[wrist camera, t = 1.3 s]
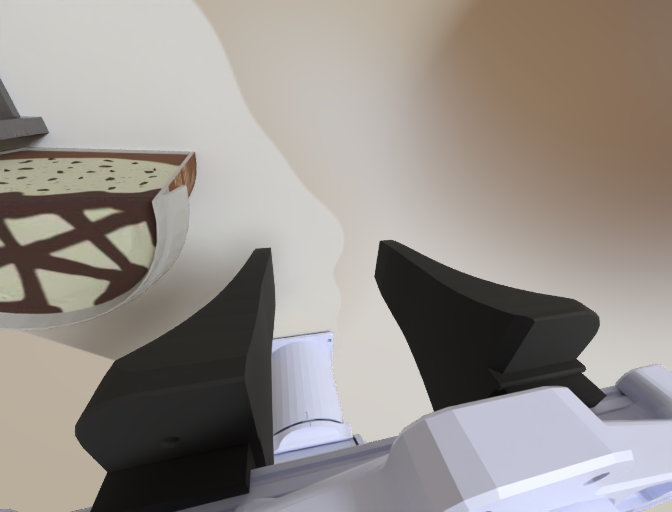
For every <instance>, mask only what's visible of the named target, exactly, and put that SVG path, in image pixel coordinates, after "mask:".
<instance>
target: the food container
mask: <svg viewBox="0 0 672 512" xmlns="http://www.w3.org/2000/svg"><path fill="white" fill-rule="evenodd" d="M195 179H196V157H195V152H182V151H147V150H111V149H75V148H39V147H22V148H16V149H10V150H4V151H0V330H39V329H50V328H56V327H63V326H69V325H73V324H77V323H81V322H85V321H88V320H91V319H94V318H96V317H99V316H101V315H104V314H106V313H108V312H110V311H112V310H114V309H117V308H119V307H121V306H123V305H125V304H126V303H128V302H130V301H131V300H133V299H135V298H136V297H138V296H139V295H140V294H142V293H143V292H144V291H145V290H146V289H147V288H149V287H150V286H151V285H152V284H153V283H155V282H156V281H157V280H158V279H159V278H160V277H161V276H163V275H164V274H165V273H166V272H167V271H168V270H169V268H170V267H171V266H172V264H173V263H174V262H175V260H176V259H177V258H178V256H179V254H180V251H181V249H182V247H183V245H184V243H185V239H186V235H187V230H188V226H189V199H188V198H189V196H190V194H191V192H192V189H193V187H194V184H195Z"/></svg>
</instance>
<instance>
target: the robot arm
mask: <svg viewBox="0 0 672 512" xmlns="http://www.w3.org/2000/svg"><path fill="white" fill-rule="evenodd" d="M374 277H375V279H376V282H377V285H378V288H379V290H380V292H381V295H382V297H383V298H384V300H385V302H386V304H387V306H388V308H389V309H390V311H391V313H392V315H393V316H394V318H395V320H396V321H397V323H398V325H399V327H400V329H401V330H402V332H403V334H404V336H405V338H406V340H407V343H408V345H409V347H410V349H411V352H412V354H413V356H414V359H415V361H416V364H417V366H418V369H419V371H420V374H421V376H422V379H423V382H424V385H425V387H426V390H427V393H428V395H429V398H430V401H431V404H432V407H433V410H434V412H432V413H430V414H427V415H424V416H422V417H421V418H419V419H418V420H416V421H415V422H413V423H411V424H410V425H408V426H407V427H405V428H404V429H403V430H402V431H401V433H400V434H399V436H395V437H391V438H386V439H382V440H378V441H373V442H369V443H367V442H366V441H365V440H364V439H363V438H362V437H361V436H360V435H359V434H355V435H352V430H351V426H350V423H344V419H343V414H342V409H341V405H340V400H339V396H338V392H337V387H336V383H335V378H334V374H333V369H332V358H333V340H334V336H333V333H332V332H325V333H318V334H310V335H303V336H295V337H288V338H281V339H273V329H274V317H275V285H274V275H273V265H272V255H271V248H260V249H255V250H254V251H253V253H252V254H251V256H250V258H249V259H248V260H247V262H246V263H245V265H244V266H243V267H242V269H241V270H240V271H239V272H238V274H237V275H236V276H235V277H234V278H233V280H232V281H231V282H230V283H229V284H228V285H227V286H226V287H225V288H224V289H223V290H222V291H221V292H220V293H219V294H218V295H217V296H216V297H215V298H214V299H213V300H212V301H211V302H209V303H208V304H207V305H206V306H204V307H203V308H202V309H200V310H199V311H198V312H197V313H195V314H194V315H193V316H191V317H190V318H189V319H187V320H186V321H184V322H183V323H181V324H180V325H178V326H177V327H175V328H174V329H172V330H170V331H169V332H167V333H165V334H164V335H162V336H161V337H159V338H157V339H155V340H154V341H152V342H150V343H148V344H146V345H144V346H143V347H141V348H139V349H137V350H135V351H133V352H131V353H129V354H128V355H126V356H124V357H122V358H120V359H118V360H116V361H115V362H114V363H113V365H112V366H111V367H110V369H109V370H108V372H107V373H106V375H105V376H104V378H103V379H102V381H101V383H100V384H99V386H98V388H97V389H96V391H95V393H94V395H93V396H92V398H91V400H90V401H89V403H88V405H87V407H86V408H85V410H84V412H83V413H82V415H81V417H80V418H79V420H78V422H77V424H76V425H75V436H76V437H77V439H78V441H79V442H80V444H81V446H82V447H83V448H84V449H85V450H86V451H87V452H88V453H89V454H90V455H91V456H92V457H93V458H94V459H95V460H96V461H97V462H98V463H99V464H100V465H101V466H102V467H103V468H104V469H105V470H106V471H107V475H106V477H105V479H104V481H103V483H102V486H101V488H100V490H99V493H98V495H97V497H96V500H95V502H94V504H93V506H92V507H89V508H85V509H81V510H76V511H72V512H640V511H643V510H645V509H648V508H650V507H653V506H655V505H658V504H660V503H663V502H665V501H668V500H670V499H672V372H671V371H670V370H668V369H667V368H665V367H664V366H662V365H661V364H654V365H649V366H645V367H640V368H636V369H633V370H630V371H629V372H627V373H625V374H624V375H623V376H622V377H621V378H620V379H619V380H618V381H617V382H616V385H615V386H611V387H606V388H602V389H599V388H598V387H597V386H596V385H594V384H593V383H592V382H591V381H590V380H589V379H588V378H587V377H585V376H584V375H583V374H582V372H584V371H585V370H586V367H585V366H584V365H583V364H582V363H581V362H579V361H578V360H577V359H576V358H577V357H578V356H579V355H580V354H581V352H582V351H583V350H584V349H585V347H586V346H587V345H588V344H589V343H590V341H591V340H592V339H593V337H594V336H595V335H596V333H597V331H598V329H599V326H600V322H599V316H598V315H597V314H596V313H595V312H594V311H592V310H591V309H589V308H588V307H586V306H585V305H583V304H582V303H580V302H578V301H576V300H574V299H570V298H564V297H558V296H552V295H546V294H540V293H534V292H529V291H525V290H520V289H515V288H512V287H508V286H504V285H500V284H496V283H493V282H490V281H486V280H482V279H479V278H477V277H473V276H471V275H468V274H465V273H462V272H460V271H457V270H455V269H452V268H450V267H447V266H445V265H443V264H441V263H439V262H437V261H435V260H432V259H430V258H428V257H426V256H424V255H422V254H420V253H418V252H416V251H414V250H413V249H411V248H409V247H407V246H405V245H403V244H401V243H398V242H396V241H393V240H384V241H380V243H379V250H378V256H377V263H376V270H375V276H374ZM0 512H17V511H14V510H10V509H0Z"/></svg>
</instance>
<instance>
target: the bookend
mask: <svg viewBox="0 0 672 512" xmlns="http://www.w3.org/2000/svg"><path fill="white" fill-rule="evenodd" d="M41 133H48V130H47V128H46V126H45V124H44V122H43V120H42V118H41V117H23V116H20V115H19V113H18V112H17V110H16V108H15V106H14V104H13V102H12V100H11V98H10V96H9V94H8V93H7V91H6V89H5V87H4V85H3V83H2V81H1V79H0V140H2V139H9V138H15V137H22V136H28V135H35V134H41Z"/></svg>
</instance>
